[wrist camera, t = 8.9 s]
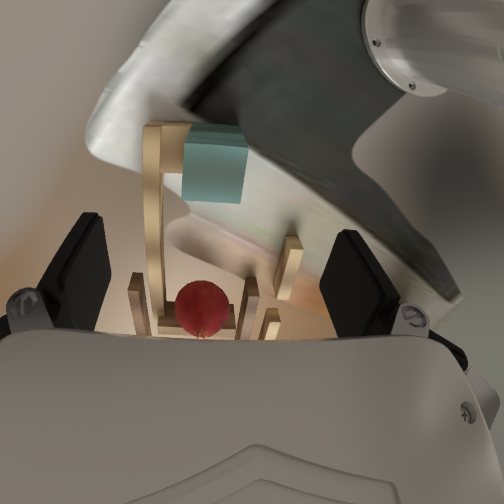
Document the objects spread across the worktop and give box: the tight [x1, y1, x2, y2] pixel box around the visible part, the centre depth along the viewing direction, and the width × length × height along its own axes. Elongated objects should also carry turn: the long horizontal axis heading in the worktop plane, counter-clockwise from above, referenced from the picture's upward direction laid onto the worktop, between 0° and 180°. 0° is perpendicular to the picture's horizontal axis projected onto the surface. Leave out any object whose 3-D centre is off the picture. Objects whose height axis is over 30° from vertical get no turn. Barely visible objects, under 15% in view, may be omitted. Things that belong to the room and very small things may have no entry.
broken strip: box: [258, 236, 304, 340], centre depth 36 cm, size 21×1×2 cm, turn 171°
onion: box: [174, 281, 229, 339], centre depth 30 cm, size 6×6×8 cm
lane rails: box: [128, 272, 260, 340], centre depth 36 cm, size 16×14×3 cm
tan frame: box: [143, 121, 249, 337], centre depth 26 cm, size 22×10×7 cm, turn 171°
